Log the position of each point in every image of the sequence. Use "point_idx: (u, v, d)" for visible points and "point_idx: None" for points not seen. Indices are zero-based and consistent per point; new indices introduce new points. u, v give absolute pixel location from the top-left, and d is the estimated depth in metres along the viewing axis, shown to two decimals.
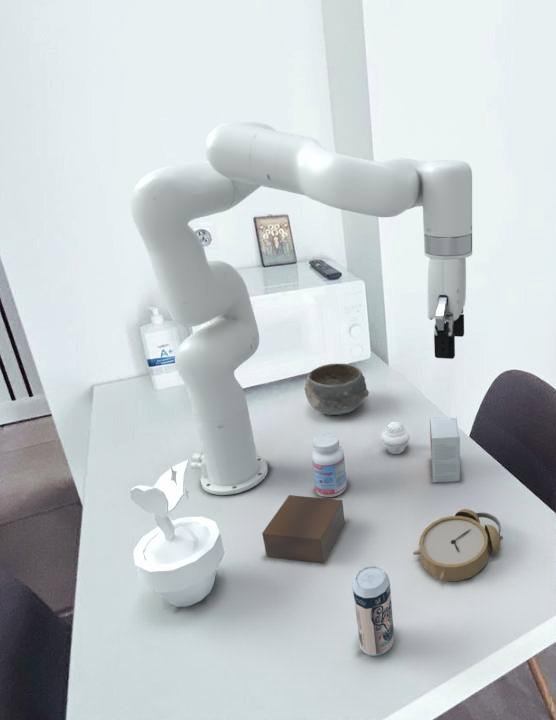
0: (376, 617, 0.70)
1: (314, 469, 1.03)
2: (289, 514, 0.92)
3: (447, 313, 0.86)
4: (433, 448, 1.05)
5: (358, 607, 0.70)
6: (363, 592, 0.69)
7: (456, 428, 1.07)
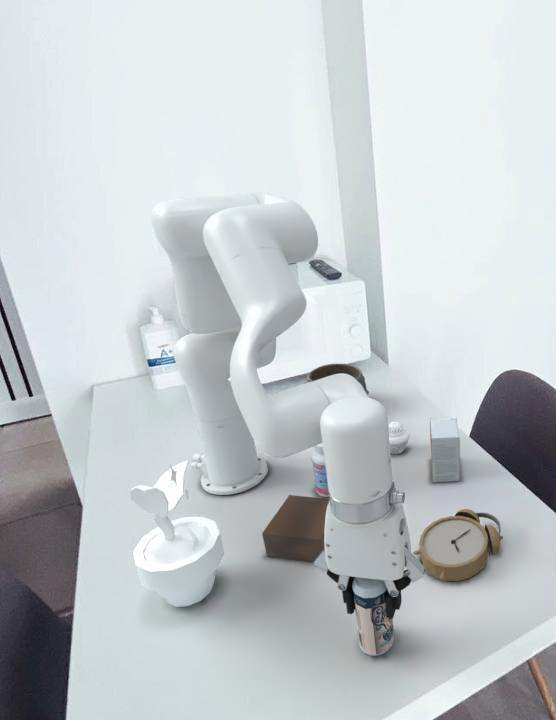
0: (376, 617, 0.70)
1: (314, 469, 1.03)
2: (289, 514, 0.92)
3: None
4: (433, 448, 1.05)
5: (358, 607, 0.70)
6: (363, 592, 0.69)
7: (456, 428, 1.07)
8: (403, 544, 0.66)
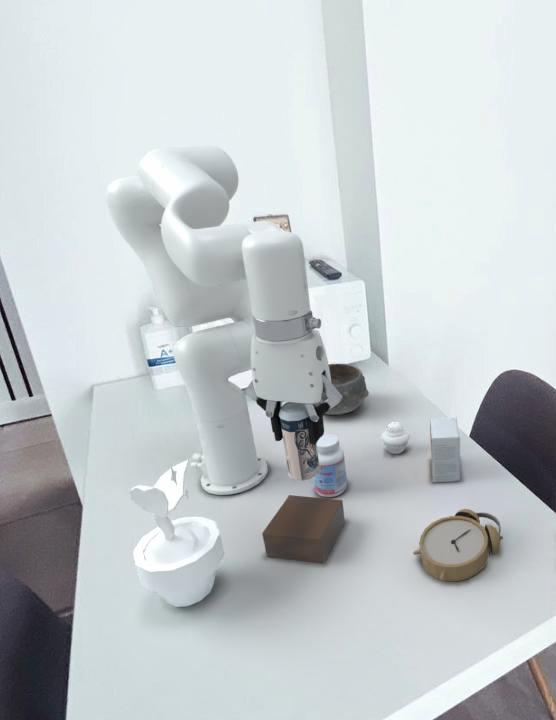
0: (300, 441, 0.79)
1: None
2: (289, 514, 0.92)
3: None
4: (433, 448, 1.05)
5: (283, 432, 0.79)
6: (287, 416, 0.78)
7: (456, 428, 1.07)
8: (320, 369, 0.75)
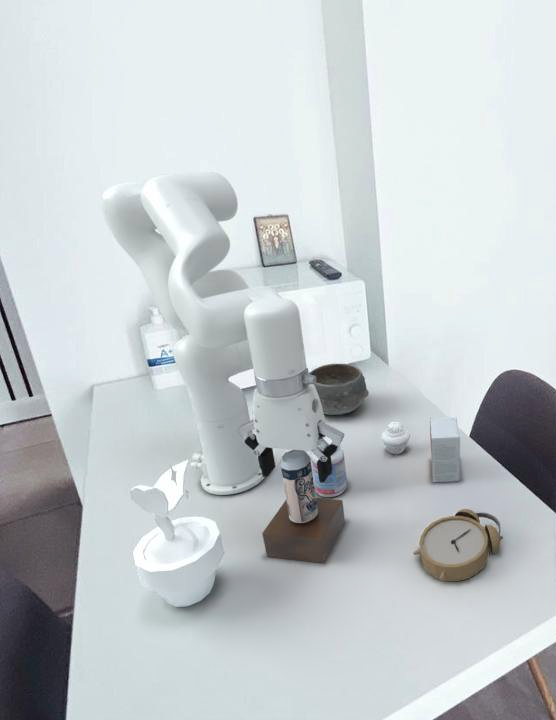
0: (299, 488, 0.87)
1: (314, 469, 1.03)
2: None
3: None
4: (433, 448, 1.05)
5: (284, 480, 0.87)
6: (287, 466, 0.86)
7: (456, 428, 1.07)
8: (316, 420, 0.83)
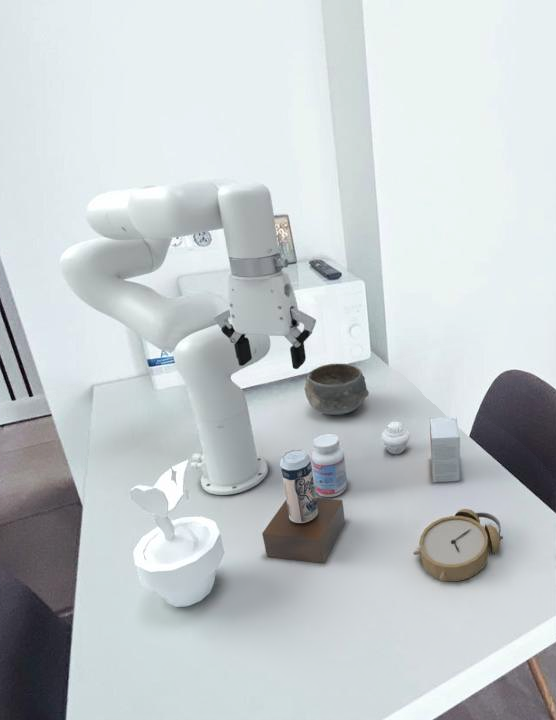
0: (299, 488, 0.87)
1: (314, 469, 1.03)
2: None
3: None
4: (433, 448, 1.05)
5: (284, 480, 0.87)
6: (287, 466, 0.86)
7: (456, 428, 1.07)
8: (289, 304, 0.87)
